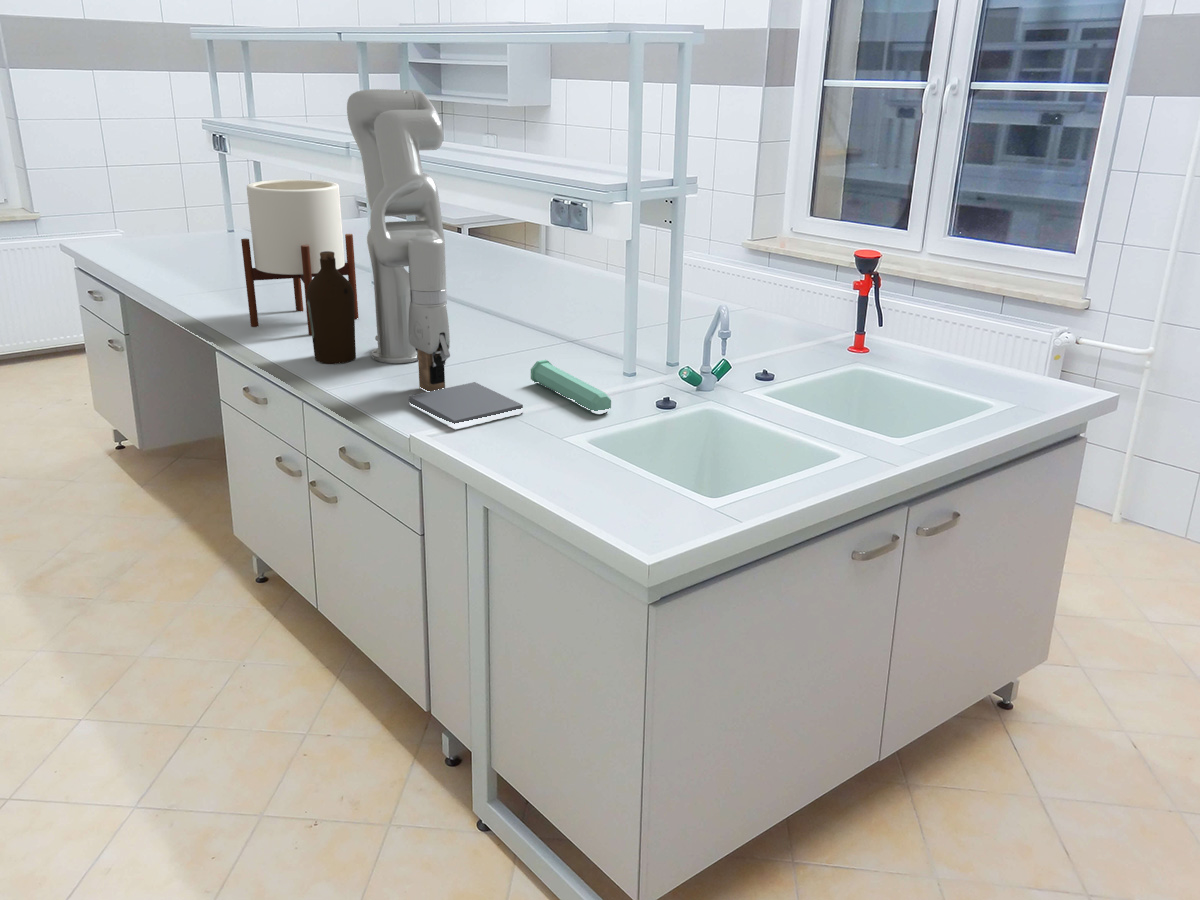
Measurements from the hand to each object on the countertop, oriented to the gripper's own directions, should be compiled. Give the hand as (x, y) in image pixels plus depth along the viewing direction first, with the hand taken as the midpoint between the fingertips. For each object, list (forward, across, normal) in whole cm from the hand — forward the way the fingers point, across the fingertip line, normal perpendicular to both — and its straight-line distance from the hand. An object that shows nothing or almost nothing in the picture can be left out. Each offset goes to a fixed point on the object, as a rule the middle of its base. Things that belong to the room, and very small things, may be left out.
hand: (431, 379), depth 210 cm
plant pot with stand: (+3, -68, +1) cm, 68 cm away
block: (+2, 0, 0) cm, 2 cm away
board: (+2, +15, -1) cm, 15 cm away
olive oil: (+2, -33, -7) cm, 34 cm away
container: (+3, +22, +21) cm, 31 cm away
